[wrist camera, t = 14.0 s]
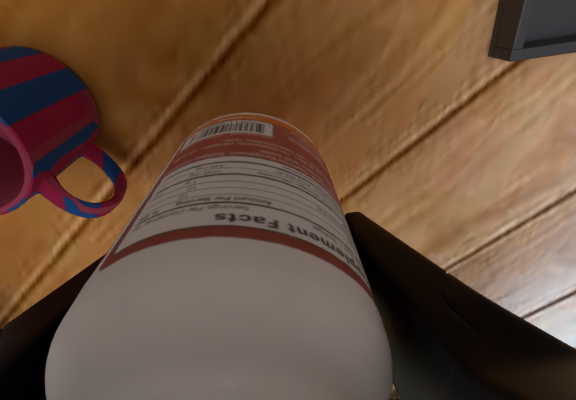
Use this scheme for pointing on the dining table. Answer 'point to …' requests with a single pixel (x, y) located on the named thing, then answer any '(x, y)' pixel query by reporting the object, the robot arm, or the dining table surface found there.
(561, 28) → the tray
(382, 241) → the robot arm
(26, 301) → the dining table surface
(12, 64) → the cup
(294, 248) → the pill bottle
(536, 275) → the dining table surface
